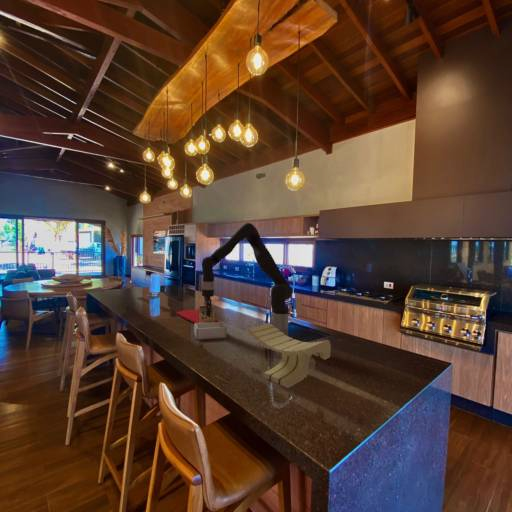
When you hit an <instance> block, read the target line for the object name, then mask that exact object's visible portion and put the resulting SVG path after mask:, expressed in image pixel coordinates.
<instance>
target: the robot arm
mask: <svg viewBox="0 0 512 512" xmlns="http://www.w3.org/2000/svg"><path fill="white" fill-rule="evenodd" d="M243 240H246V241H247V242H248V243H249V245H250V247H251V248H252V250H253V254H254V258H255V260H256V264H257V265H258V267H259V268H260V269H261V271H262V272H263V273H264V274H265V275H266V276H267V277H269V278H270V279H271V281H272V282H273V284H274V285H273V286H272V288H271V290H270V307H271V323H270V324H272V325H274V326H275V328H277V329H279V330H280V332H282V333H284V334H285V335H286V336H288V337H289V315H290V314H289V312H290V311H289V307H288V306H286V300H289V299H291V297H292V296H293V289H292V287H291V285H290V283H289V282H288V280H287V279H286V278H285V276H284V275H283V273H282V272H281V270H280V269H279V266H278V265H277V263H276V261H275V259H274V258H273V256H272V254H271V252H270V250H268V248H267V246H266V245H265V244H264V242H263V240H262V237H261V236H260V234H259V231H258V229H257V227H256V226H255V225H253V223H250V222H246V223H243V224H242V225H241V226H240V227H239V228H238V229H237V230H236V231H235V233H234V234H233V235H232V236H231V237H230V238H228V240H226V241H225V242H224V243H223V244H222V245H220V246H219V247H218V248H217V249H215V250H214V252H213V253H212V254H210V255H209V256H205V257H204V258H203V259H202V261H201V268H202V284H201V296H202V297H203V305H205V306H206V316H210V310H211V305H212V299H211V298H212V297H214V295H215V273H214V270H213V269H214V267H215V266H217V265H218V264H219V263H220V262H221V261H222V260H223V259H225V258H226V257H227V256H229V255H230V254H231V253H233V250H234V249H235V248H236V246H237V245H238V244H239V243H240V242H242V241H243ZM208 307H209V308H208Z"/></svg>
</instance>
